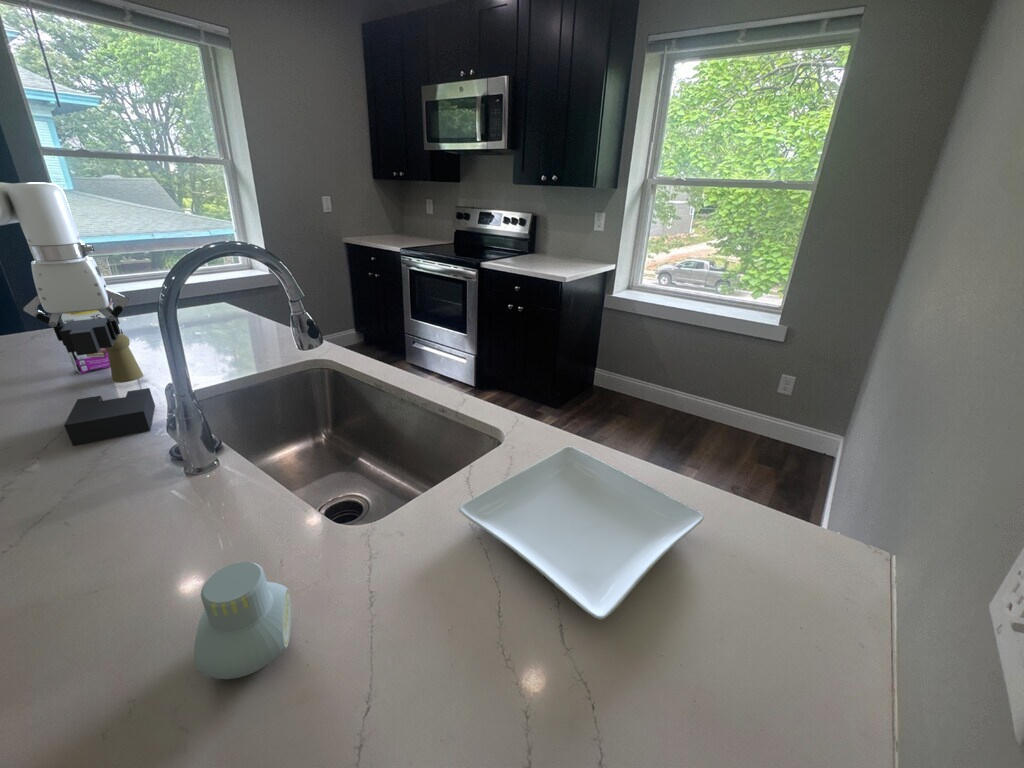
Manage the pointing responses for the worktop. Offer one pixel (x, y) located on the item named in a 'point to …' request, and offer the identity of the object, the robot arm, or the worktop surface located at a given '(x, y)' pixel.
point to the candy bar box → (89, 360)
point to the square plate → (583, 525)
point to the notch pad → (110, 417)
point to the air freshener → (241, 622)
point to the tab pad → (86, 336)
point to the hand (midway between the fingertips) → (91, 339)
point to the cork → (123, 361)
